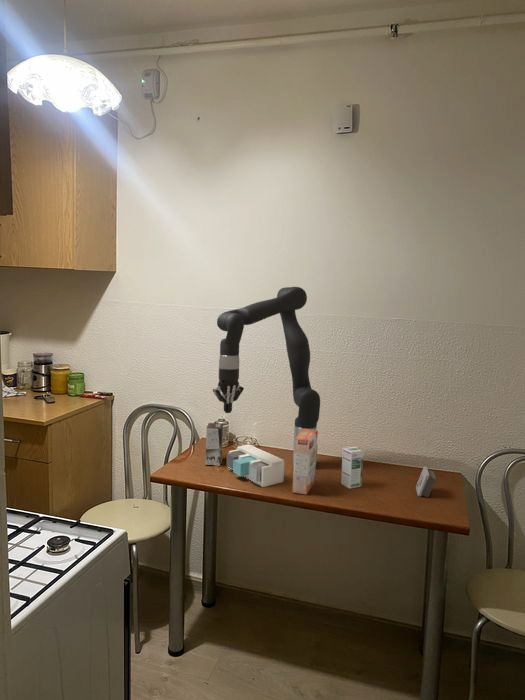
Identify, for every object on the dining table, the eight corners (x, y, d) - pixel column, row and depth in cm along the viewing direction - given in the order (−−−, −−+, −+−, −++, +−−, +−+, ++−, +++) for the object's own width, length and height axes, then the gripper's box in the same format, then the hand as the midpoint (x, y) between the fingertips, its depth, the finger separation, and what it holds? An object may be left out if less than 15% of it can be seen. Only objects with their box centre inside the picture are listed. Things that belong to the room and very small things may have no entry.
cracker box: (307, 495, 186) (310, 439, 184) (291, 493, 188) (294, 437, 185) (315, 482, 199) (318, 429, 197) (300, 480, 201) (303, 427, 199)
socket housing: (248, 464, 217) (249, 444, 215) (283, 481, 198) (284, 460, 197) (228, 468, 210) (229, 448, 209) (262, 487, 192) (263, 464, 191)
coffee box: (220, 466, 212) (221, 428, 210) (204, 466, 212) (205, 428, 210) (222, 459, 221) (223, 422, 219) (207, 458, 221) (208, 422, 220)
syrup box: (349, 489, 194) (352, 451, 192) (340, 483, 199) (342, 447, 197) (361, 487, 196) (364, 450, 195) (352, 481, 202) (354, 445, 200)
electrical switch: (415, 487, 198) (419, 464, 196) (429, 490, 197) (433, 467, 196) (417, 497, 189) (422, 473, 187) (432, 500, 188) (436, 476, 186)
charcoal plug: (246, 461, 214) (247, 449, 213) (253, 465, 210) (254, 453, 209) (226, 465, 208) (226, 453, 207) (233, 469, 204) (233, 457, 203)
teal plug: (253, 467, 207) (254, 455, 206) (261, 471, 203) (261, 459, 202) (232, 472, 201) (233, 460, 200) (240, 476, 197) (240, 463, 196)
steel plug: (269, 472, 202) (269, 460, 202) (277, 476, 198) (277, 464, 198) (248, 477, 196) (248, 464, 195) (256, 481, 192) (256, 468, 192)
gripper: (238, 364, 198) (236, 408, 200) (208, 366, 190) (207, 412, 192) (249, 367, 192) (247, 412, 194) (219, 369, 184) (218, 417, 186)
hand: (227, 412), depth 193 cm, fingers closed
